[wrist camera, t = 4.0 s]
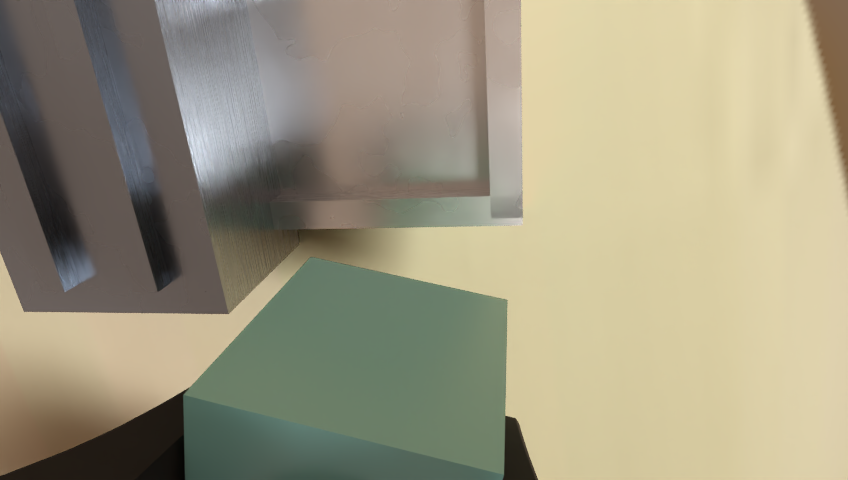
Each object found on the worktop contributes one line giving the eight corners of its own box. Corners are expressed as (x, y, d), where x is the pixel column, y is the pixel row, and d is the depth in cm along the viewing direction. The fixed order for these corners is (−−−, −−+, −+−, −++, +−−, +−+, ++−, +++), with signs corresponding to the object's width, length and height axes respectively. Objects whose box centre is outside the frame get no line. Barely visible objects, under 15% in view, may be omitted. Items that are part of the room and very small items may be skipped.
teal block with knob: (467, 454, 15) (442, 696, 9) (297, 412, 15) (178, 620, 10) (507, 300, 13) (503, 491, 7) (311, 256, 13) (171, 407, 8)
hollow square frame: (522, 241, 19) (526, 329, 13) (139, 246, 21) (7, 321, 16) (518, -169, 14) (521, -298, 9) (38, -99, 17) (-193, -163, 11)
